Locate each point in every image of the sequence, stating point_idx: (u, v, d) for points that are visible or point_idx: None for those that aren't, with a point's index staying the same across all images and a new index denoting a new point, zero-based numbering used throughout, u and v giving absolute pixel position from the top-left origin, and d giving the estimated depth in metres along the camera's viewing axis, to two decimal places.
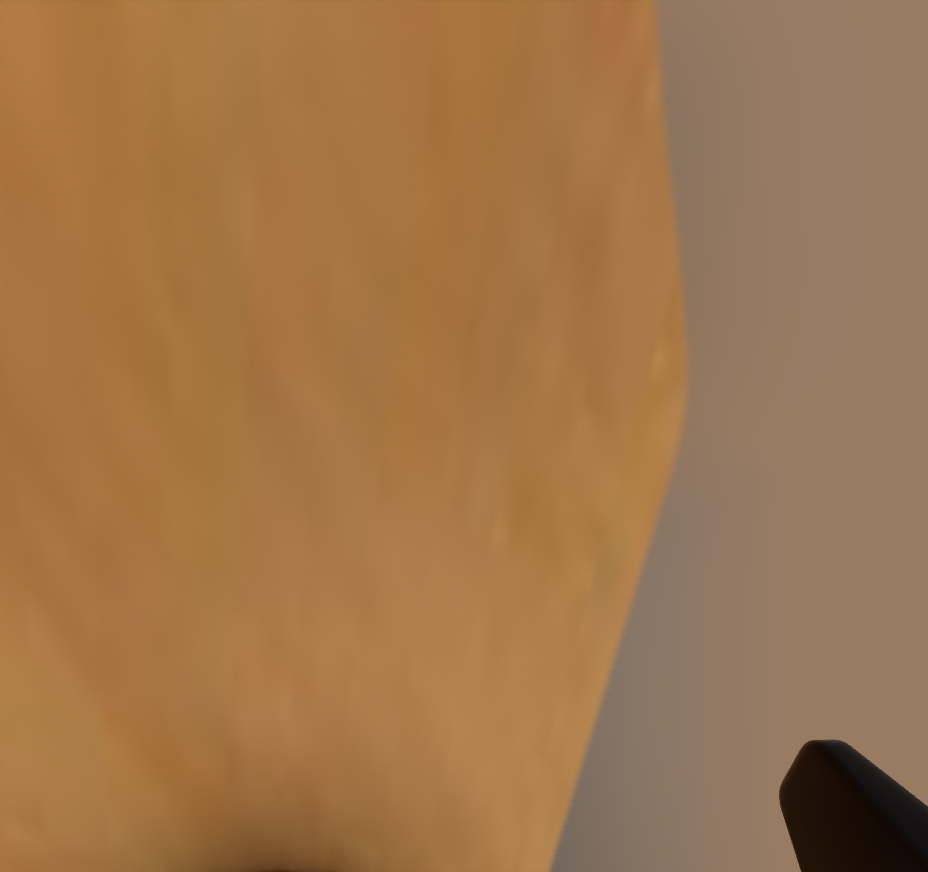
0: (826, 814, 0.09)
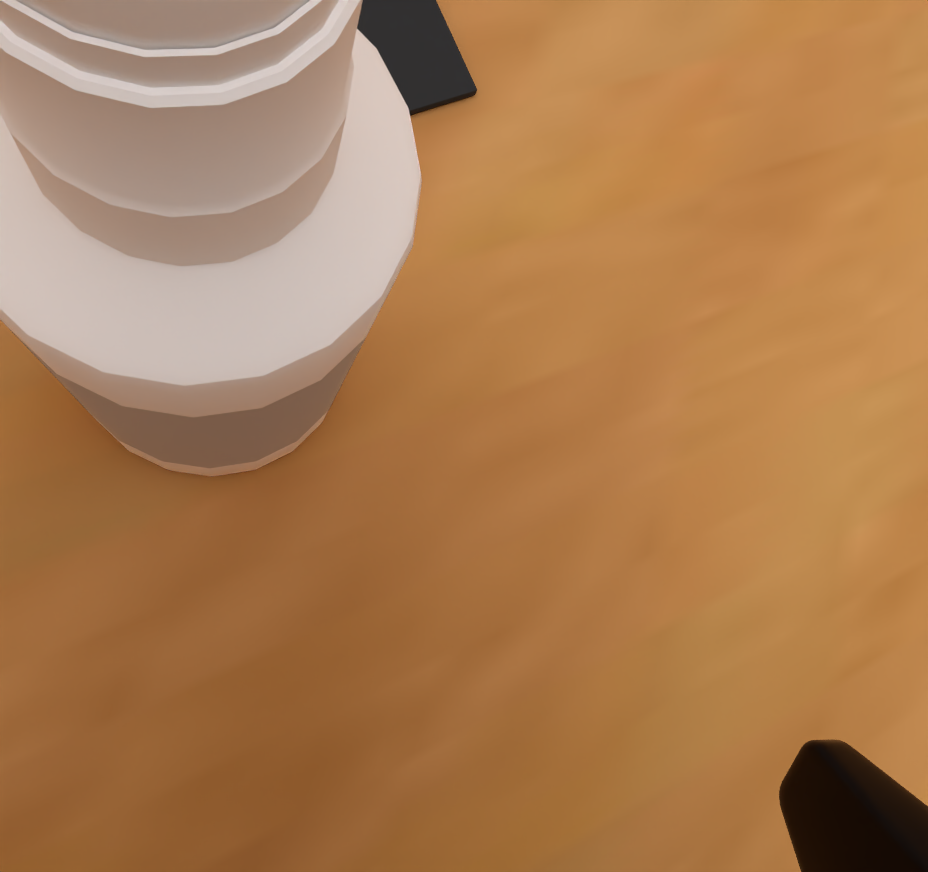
0: (826, 813, 0.09)
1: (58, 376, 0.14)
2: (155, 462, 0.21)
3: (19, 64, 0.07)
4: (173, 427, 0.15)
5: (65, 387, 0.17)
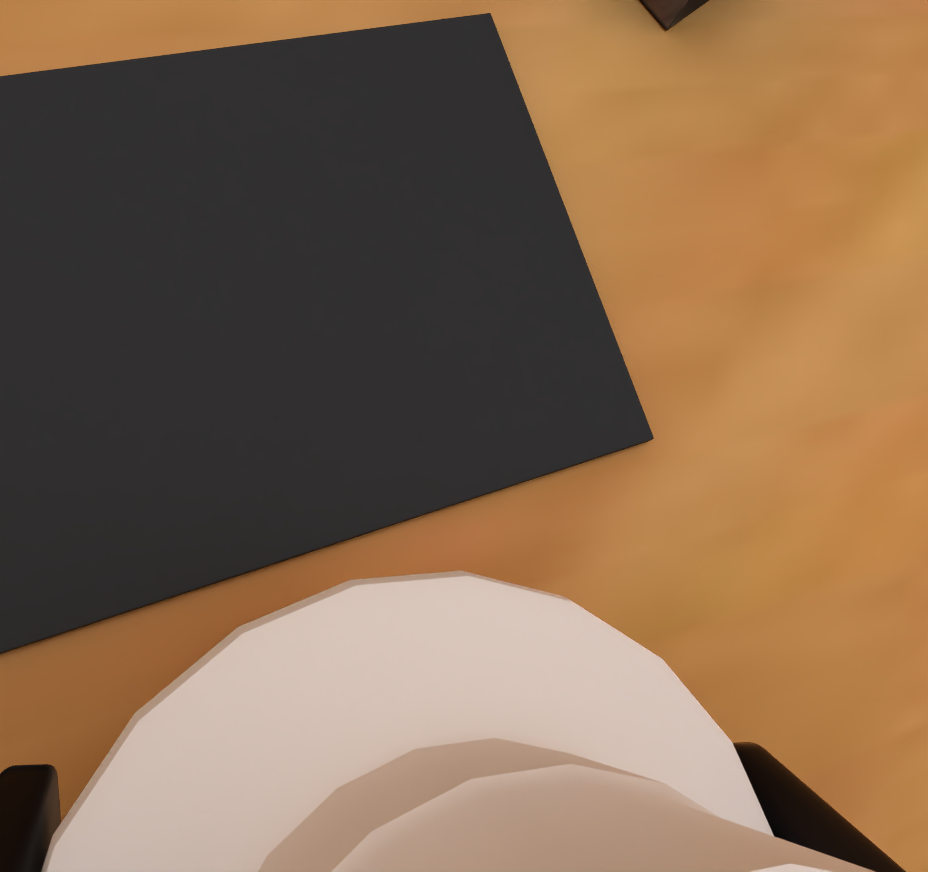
0: None
1: None
2: None
3: None
4: None
5: None
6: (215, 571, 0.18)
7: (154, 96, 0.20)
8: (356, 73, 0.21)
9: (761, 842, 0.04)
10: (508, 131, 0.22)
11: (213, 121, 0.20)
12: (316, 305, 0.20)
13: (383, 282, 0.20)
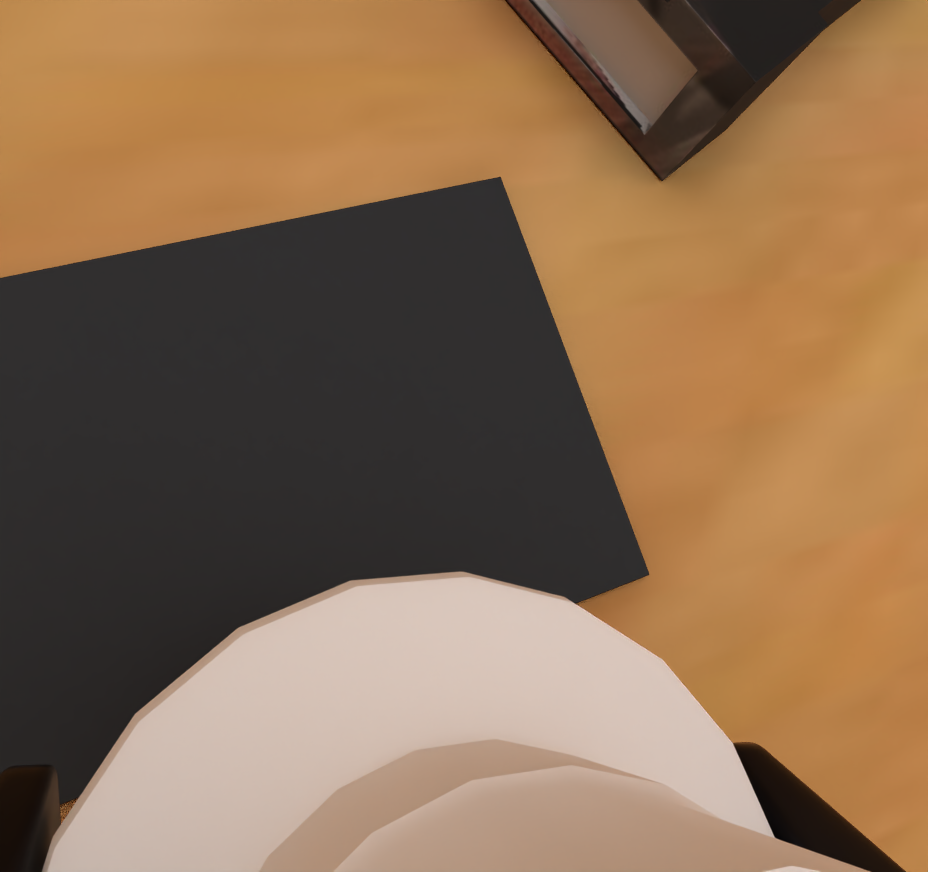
0: None
1: None
2: None
3: None
4: None
5: None
6: None
7: (198, 276, 0.22)
8: (379, 243, 0.23)
9: (762, 844, 0.04)
10: (517, 290, 0.24)
11: (252, 296, 0.22)
12: (345, 465, 0.22)
13: (405, 440, 0.22)
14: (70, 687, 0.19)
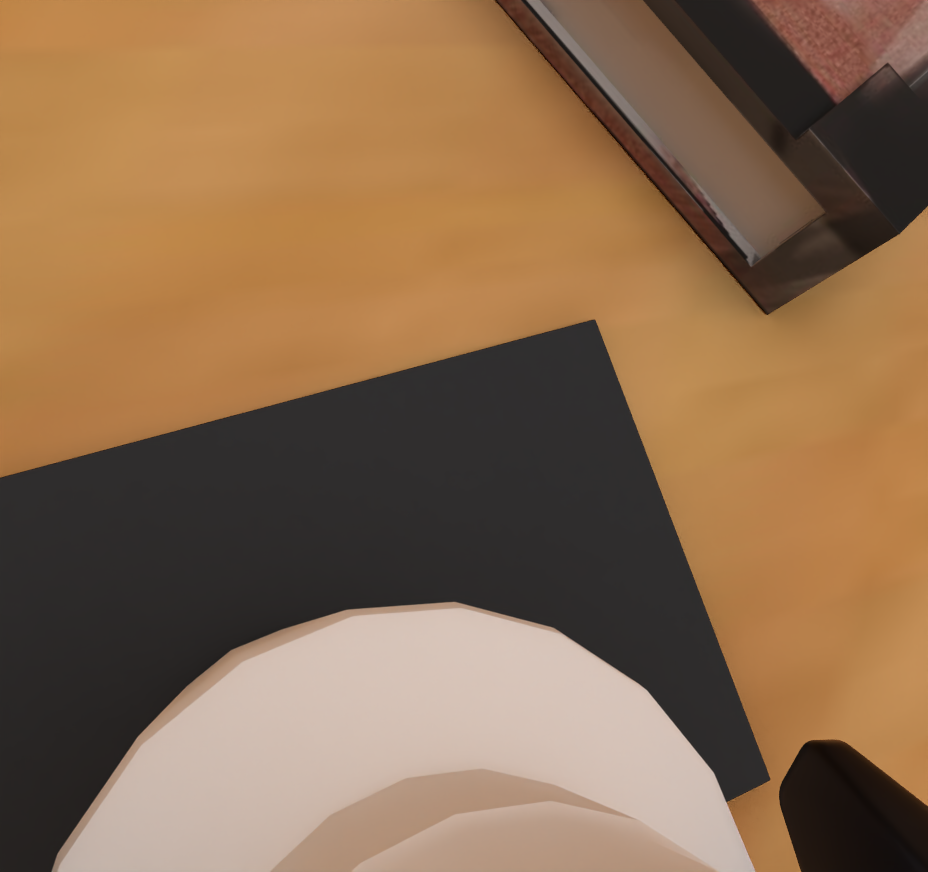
0: (826, 813, 0.09)
1: None
2: None
3: None
4: None
5: None
6: None
7: (265, 453, 0.19)
8: (465, 403, 0.21)
9: None
10: (617, 451, 0.21)
11: (325, 474, 0.19)
12: None
13: None
14: None
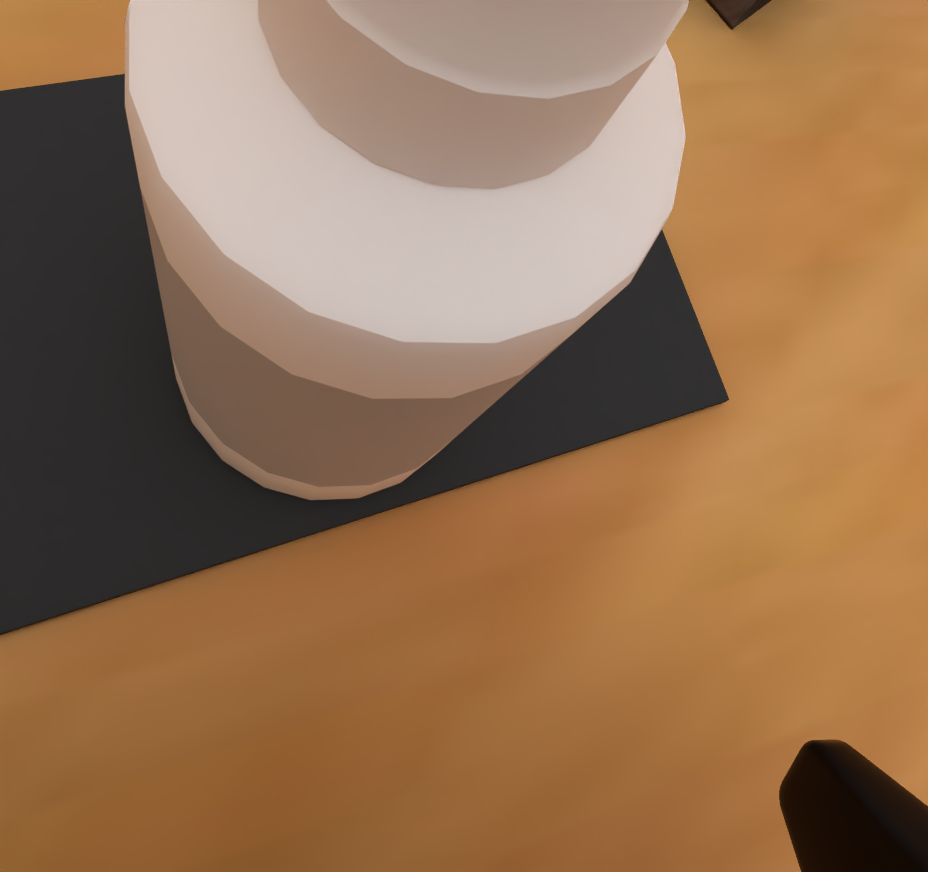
0: (826, 814, 0.09)
1: (213, 334, 0.11)
2: (252, 475, 0.19)
3: None
4: (330, 415, 0.12)
5: (185, 368, 0.15)
6: (352, 511, 0.20)
7: None
8: None
9: None
10: None
11: None
12: None
13: None
14: (167, 471, 0.19)
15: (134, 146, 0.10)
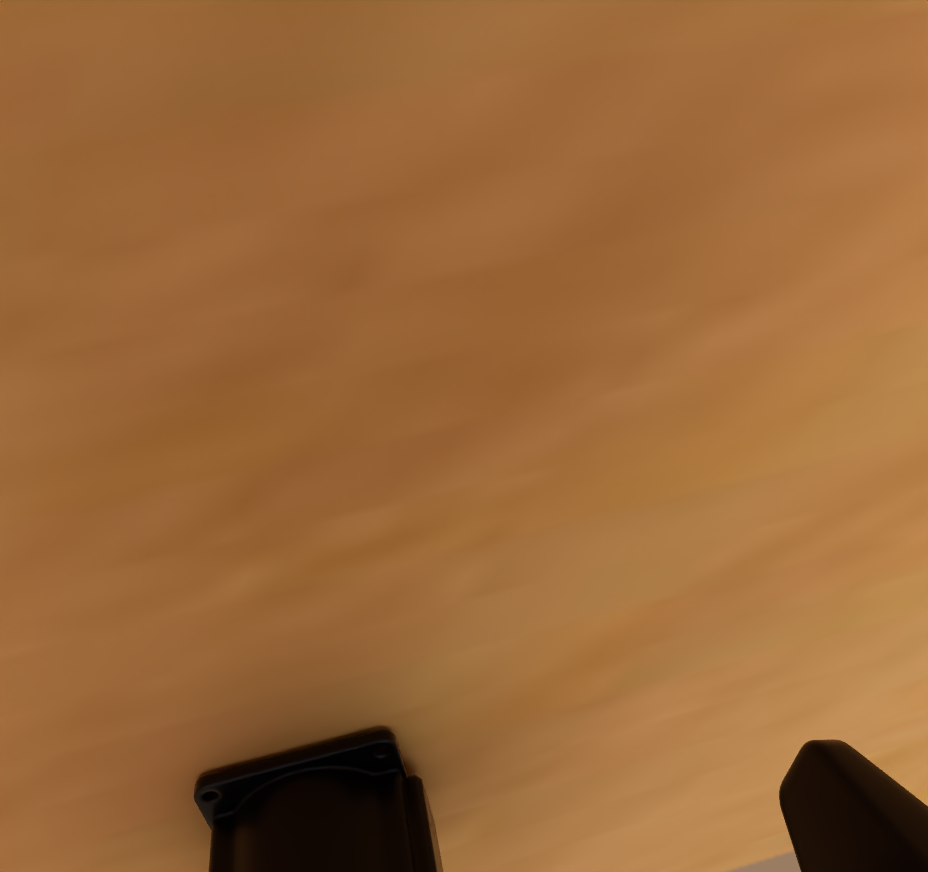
0: (826, 814, 0.09)
1: None
2: None
3: None
4: None
5: None
6: None
7: None
8: None
9: None
10: None
11: None
12: None
13: None
14: None
15: None
